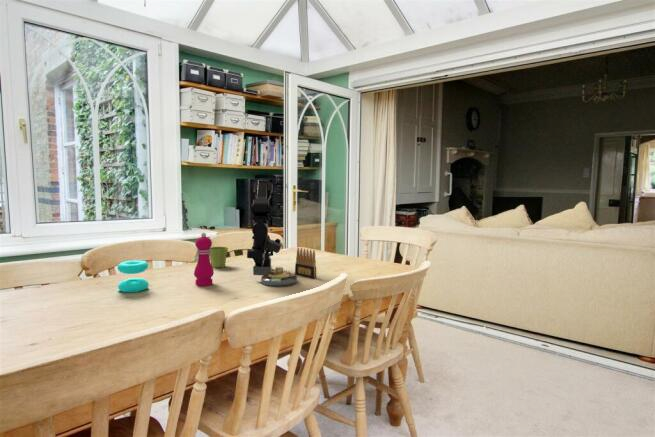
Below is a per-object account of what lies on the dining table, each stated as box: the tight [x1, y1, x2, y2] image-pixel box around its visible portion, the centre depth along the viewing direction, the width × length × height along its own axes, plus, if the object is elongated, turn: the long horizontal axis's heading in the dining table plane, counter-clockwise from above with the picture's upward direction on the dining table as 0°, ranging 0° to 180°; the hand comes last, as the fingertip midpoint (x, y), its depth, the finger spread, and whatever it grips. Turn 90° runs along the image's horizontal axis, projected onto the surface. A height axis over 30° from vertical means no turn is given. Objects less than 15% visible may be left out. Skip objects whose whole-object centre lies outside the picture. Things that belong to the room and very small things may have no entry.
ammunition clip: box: [294, 247, 317, 280], centre depth 173 cm, size 11×2×12 cm, turn 52°
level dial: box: [252, 265, 291, 279], centre depth 163 cm, size 15×9×4 cm, turn 81°
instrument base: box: [260, 274, 298, 288], centre depth 163 cm, size 14×14×3 cm
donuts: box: [117, 259, 149, 293], centre depth 148 cm, size 10×10×10 cm
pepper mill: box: [193, 232, 215, 287], centre depth 157 cm, size 7×7×20 cm
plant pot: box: [209, 246, 229, 269], centre depth 188 cm, size 9×9×9 cm
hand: (260, 271), depth 166 cm, fingers closed
